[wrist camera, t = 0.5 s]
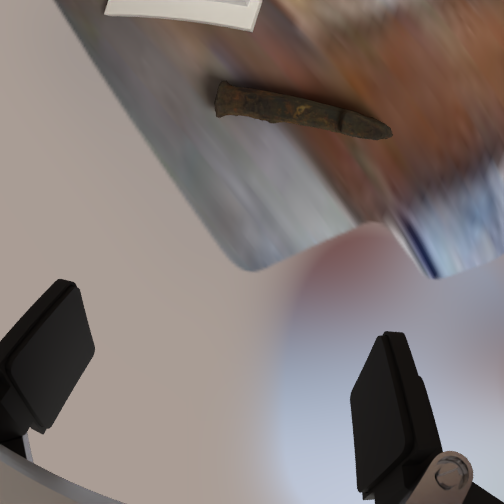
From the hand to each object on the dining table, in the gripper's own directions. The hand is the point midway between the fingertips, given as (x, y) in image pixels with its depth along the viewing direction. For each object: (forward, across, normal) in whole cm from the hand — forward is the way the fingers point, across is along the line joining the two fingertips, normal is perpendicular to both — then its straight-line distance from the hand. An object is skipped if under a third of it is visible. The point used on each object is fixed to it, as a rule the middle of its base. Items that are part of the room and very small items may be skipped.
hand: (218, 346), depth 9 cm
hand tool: (+30, -3, -6) cm, 31 cm away
